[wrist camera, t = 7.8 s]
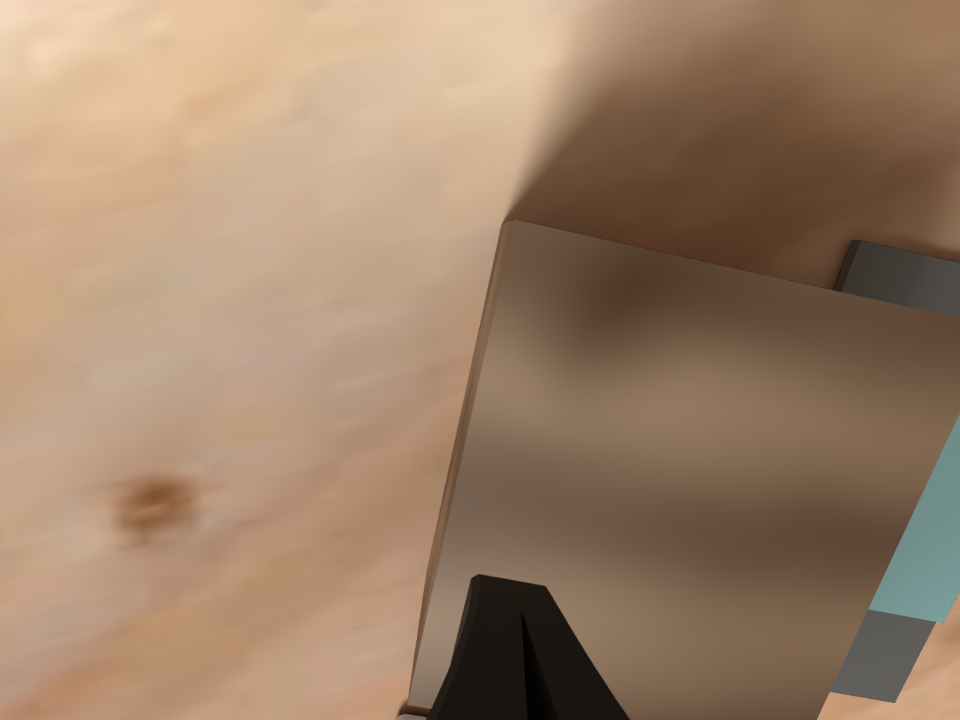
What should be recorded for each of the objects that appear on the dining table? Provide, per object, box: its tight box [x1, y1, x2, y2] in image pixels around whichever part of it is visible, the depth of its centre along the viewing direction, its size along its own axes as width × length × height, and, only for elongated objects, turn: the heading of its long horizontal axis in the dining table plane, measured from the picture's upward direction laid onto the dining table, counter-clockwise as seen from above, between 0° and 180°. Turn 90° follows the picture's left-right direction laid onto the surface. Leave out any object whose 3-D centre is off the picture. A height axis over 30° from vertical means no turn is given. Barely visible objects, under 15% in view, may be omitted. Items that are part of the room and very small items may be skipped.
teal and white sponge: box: [869, 414, 960, 623], centre depth 19 cm, size 8×5×2 cm, turn 168°
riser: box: [407, 220, 960, 720], centre depth 16 cm, size 14×12×6 cm
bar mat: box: [830, 240, 960, 703], centre depth 20 cm, size 18×9×1 cm, turn 168°
